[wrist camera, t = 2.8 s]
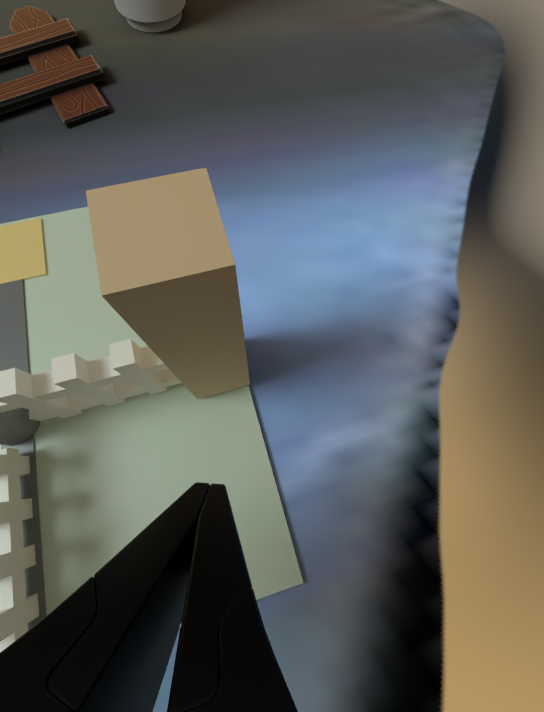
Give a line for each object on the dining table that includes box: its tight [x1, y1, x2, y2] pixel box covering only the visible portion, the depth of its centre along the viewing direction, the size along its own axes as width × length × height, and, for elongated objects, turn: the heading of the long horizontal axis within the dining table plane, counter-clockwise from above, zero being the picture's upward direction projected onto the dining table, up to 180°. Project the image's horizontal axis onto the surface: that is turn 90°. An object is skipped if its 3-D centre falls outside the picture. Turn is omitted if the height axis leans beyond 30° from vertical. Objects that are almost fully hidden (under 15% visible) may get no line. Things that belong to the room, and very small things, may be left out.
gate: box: [0, 168, 250, 421], centre depth 13 cm, size 11×3×12 cm, turn 106°
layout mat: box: [0, 207, 303, 630], centre depth 18 cm, size 25×17×1 cm
